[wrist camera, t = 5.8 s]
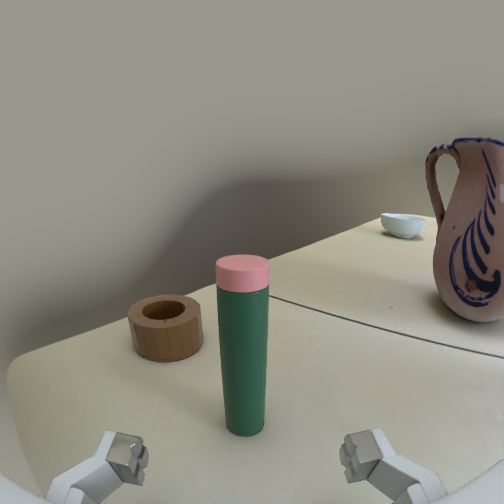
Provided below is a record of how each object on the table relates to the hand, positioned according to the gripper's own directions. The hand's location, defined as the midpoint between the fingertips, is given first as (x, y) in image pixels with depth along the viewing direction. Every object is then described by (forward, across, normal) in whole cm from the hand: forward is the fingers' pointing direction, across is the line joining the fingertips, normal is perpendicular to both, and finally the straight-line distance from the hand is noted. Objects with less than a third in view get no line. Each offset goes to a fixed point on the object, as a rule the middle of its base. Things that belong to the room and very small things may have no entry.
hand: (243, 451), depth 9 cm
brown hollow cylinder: (+19, +8, +7) cm, 22 cm away
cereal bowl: (+78, -56, +7) cm, 96 cm away
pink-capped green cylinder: (+8, 0, +7) cm, 10 cm away
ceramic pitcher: (+22, -34, +7) cm, 41 cm away
